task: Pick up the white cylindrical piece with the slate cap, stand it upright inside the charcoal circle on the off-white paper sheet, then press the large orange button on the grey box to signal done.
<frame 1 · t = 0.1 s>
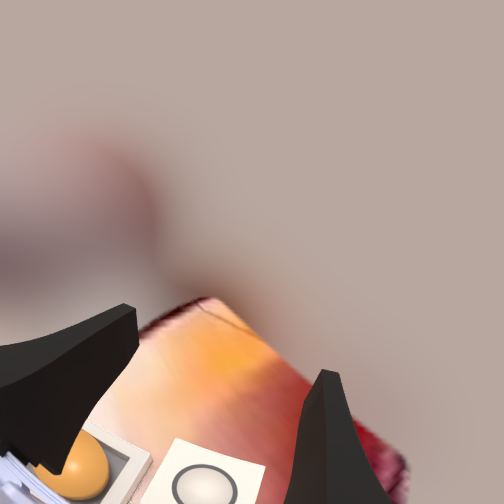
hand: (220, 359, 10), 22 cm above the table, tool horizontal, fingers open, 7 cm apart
paper sheet: (204, 490, 19), on the table
done button: (69, 462, 16), point 3 cm above the table, slide at 0.0 cm
button box: (77, 471, 17), on the table
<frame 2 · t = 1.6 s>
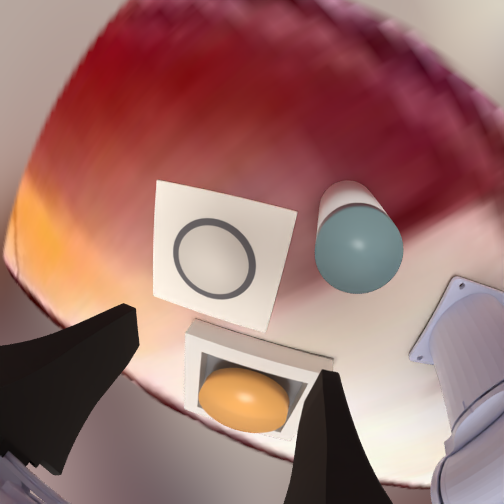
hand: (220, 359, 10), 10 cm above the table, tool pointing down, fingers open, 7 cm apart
white cylindrical piece: (347, 209, 17), on the table
paper sheet: (213, 259, 20), on the table
done button: (243, 403, 23), point 3 cm above the table, slide at 0.0 cm
button box: (250, 383, 25), on the table
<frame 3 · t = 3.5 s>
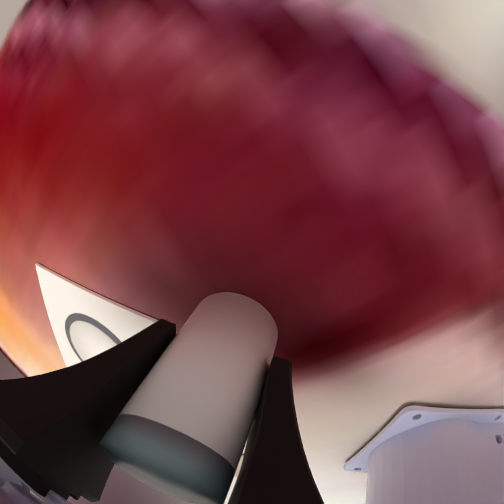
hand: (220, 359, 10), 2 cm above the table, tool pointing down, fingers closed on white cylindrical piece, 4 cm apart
white cylindrical piece: (234, 329, 11), on the table, touching gripper
paper sheet: (102, 353, 15), on the table
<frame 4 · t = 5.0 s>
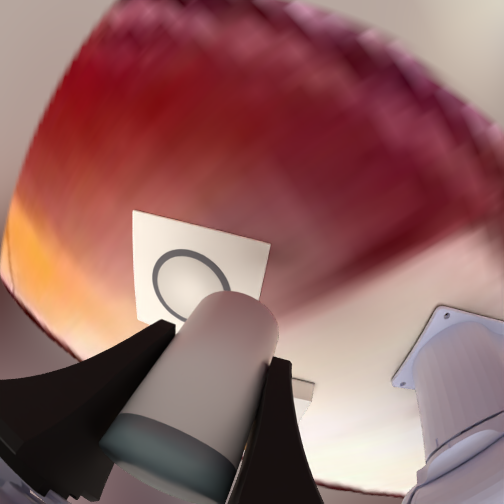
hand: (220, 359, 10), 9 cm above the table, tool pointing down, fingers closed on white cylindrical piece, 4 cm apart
white cylindrical piece: (235, 328, 11), point 7 cm above the table, touching gripper
paper sheet: (190, 288, 20), on the table
button box: (235, 402, 25), on the table
when the fingers open (3 cm above the table, at t = 6.8 s): white cylindrical piece drops 1 cm, resting on paper sheet.
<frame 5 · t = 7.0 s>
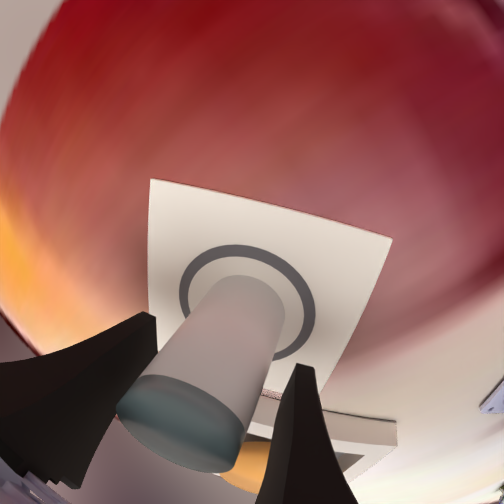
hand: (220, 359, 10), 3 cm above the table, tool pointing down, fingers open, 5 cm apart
white cylindrical piece: (244, 311, 12), resting on paper sheet
paper sheet: (244, 308, 13), on the table
done button: (276, 474, 15), point 3 cm above the table, slide at 0.0 cm
button box: (283, 446, 17), on the table
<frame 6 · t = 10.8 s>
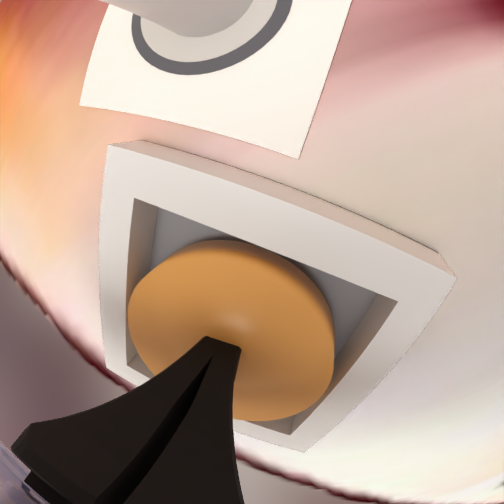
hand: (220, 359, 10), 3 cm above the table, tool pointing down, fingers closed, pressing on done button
paper sheet: (205, 2, 7), on the table
done button: (227, 346, 10), point 2 cm above the table, slide at 0.8 cm, touching gripper
button box: (240, 319, 12), on the table
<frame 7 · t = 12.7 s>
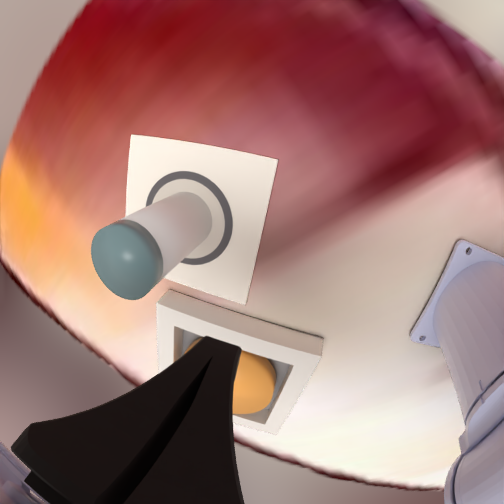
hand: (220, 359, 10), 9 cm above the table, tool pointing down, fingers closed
white cylindrical piece: (186, 218, 18), resting on paper sheet
paper sheet: (187, 218, 18), on the table
done button: (226, 378, 21), point 1 cm above the table, slide at 1.1 cm
button box: (231, 366, 23), on the table
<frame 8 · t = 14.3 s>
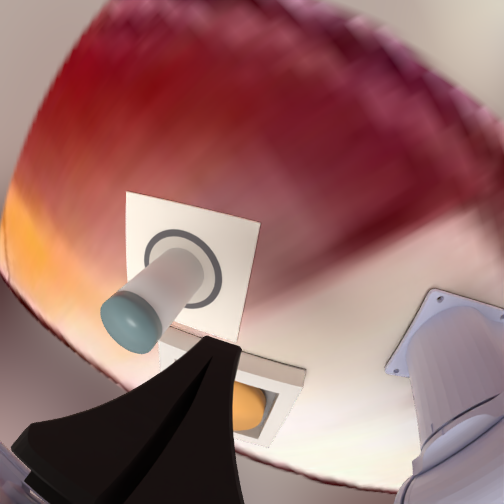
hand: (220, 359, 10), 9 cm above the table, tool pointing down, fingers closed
white cylindrical piece: (181, 270, 20), resting on paper sheet
paper sheet: (182, 270, 20), on the table
done button: (221, 401, 23), point 1 cm above the table, slide at 1.1 cm
button box: (226, 390, 25), on the table
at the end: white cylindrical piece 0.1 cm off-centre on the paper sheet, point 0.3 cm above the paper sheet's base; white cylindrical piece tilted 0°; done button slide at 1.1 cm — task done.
